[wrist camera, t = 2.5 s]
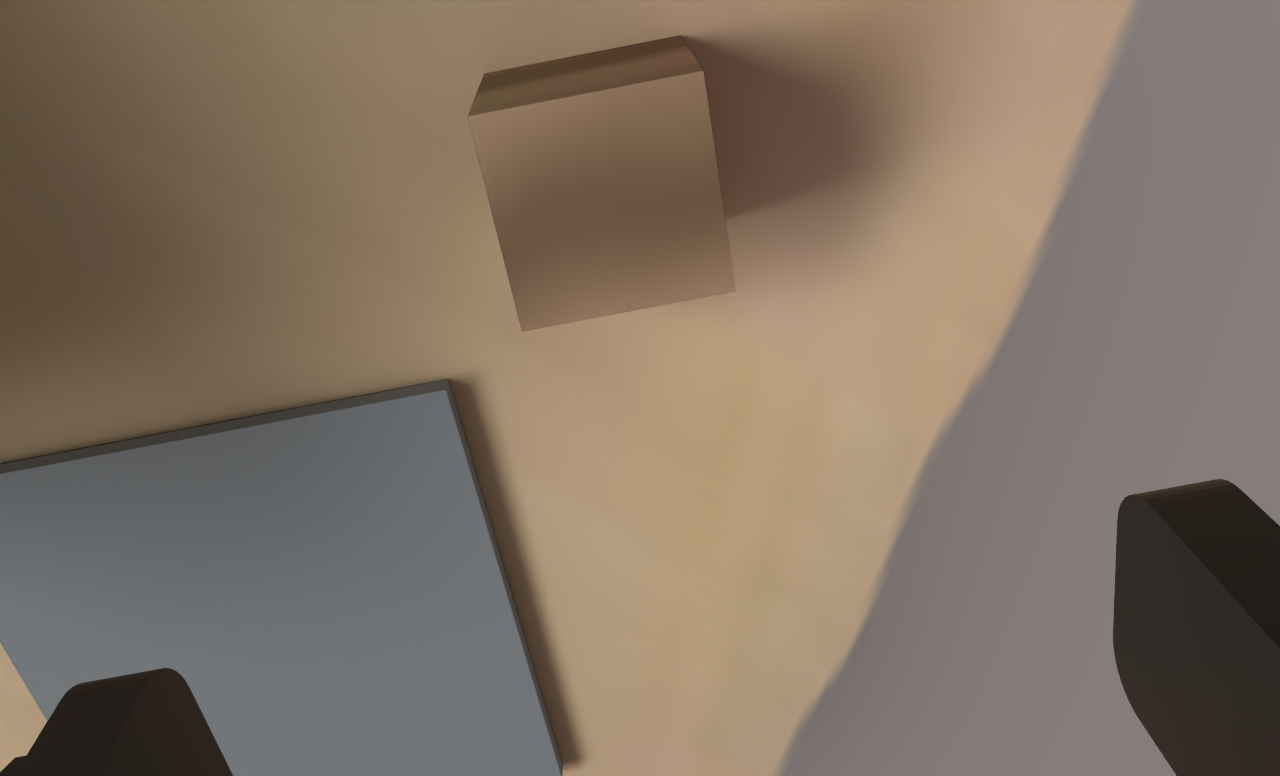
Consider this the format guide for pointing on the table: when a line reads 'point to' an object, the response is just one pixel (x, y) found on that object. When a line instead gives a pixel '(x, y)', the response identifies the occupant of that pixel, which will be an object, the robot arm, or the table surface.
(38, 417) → the table surface
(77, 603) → the mat
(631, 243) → the walnut cube
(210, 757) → the robot arm
